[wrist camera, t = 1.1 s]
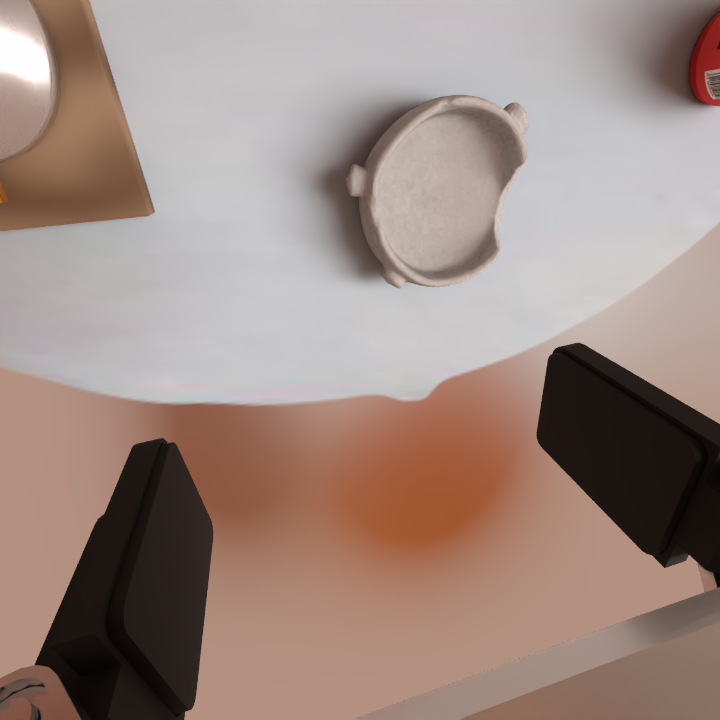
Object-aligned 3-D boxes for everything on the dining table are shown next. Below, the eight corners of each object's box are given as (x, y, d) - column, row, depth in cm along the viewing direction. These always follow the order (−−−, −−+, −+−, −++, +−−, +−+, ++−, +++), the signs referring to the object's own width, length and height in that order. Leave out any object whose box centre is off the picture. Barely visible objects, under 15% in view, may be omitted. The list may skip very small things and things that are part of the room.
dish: (500, 85, 31) (539, 75, 27) (500, 254, 38) (530, 267, 34) (327, 122, 30) (339, 117, 25) (360, 291, 37) (374, 310, 32)
